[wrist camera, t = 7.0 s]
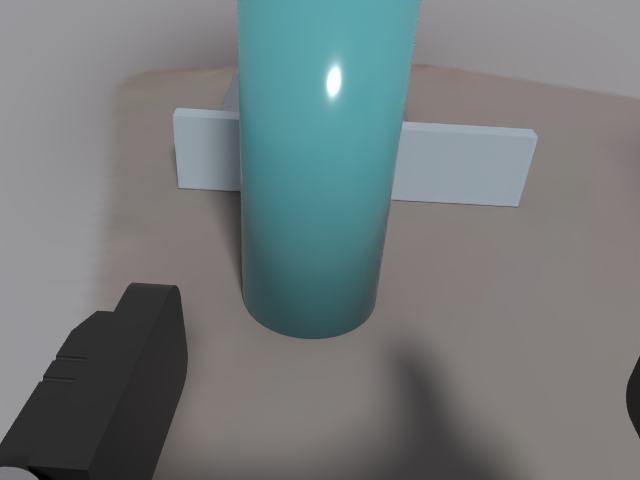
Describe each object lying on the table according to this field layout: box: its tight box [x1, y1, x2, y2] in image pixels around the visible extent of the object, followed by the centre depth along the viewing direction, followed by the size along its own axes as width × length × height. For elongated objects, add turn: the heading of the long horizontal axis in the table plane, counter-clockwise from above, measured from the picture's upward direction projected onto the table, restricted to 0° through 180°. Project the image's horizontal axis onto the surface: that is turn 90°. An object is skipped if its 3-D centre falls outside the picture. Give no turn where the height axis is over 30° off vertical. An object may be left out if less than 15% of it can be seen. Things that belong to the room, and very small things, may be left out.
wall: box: [173, 108, 538, 207], centre depth 30 cm, size 18×1×4 cm, turn 90°
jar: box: [237, 0, 421, 339], centre depth 20 cm, size 6×6×13 cm
